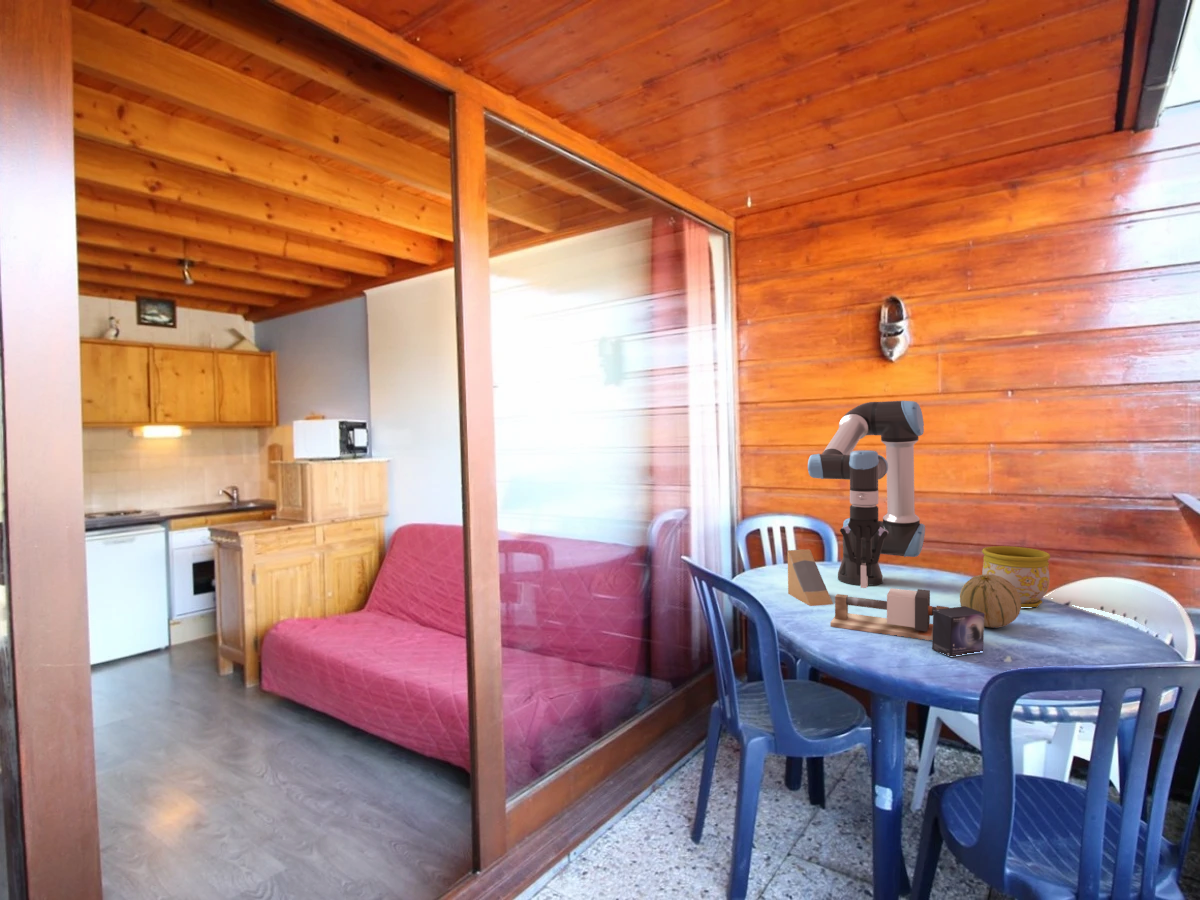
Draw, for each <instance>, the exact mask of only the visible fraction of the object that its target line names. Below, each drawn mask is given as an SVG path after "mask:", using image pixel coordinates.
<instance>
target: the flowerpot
mask: <svg viewBox="0 0 1200 900" xmlns="http://www.w3.org/2000/svg"><path fill="white" fill-rule="evenodd" d="M981 553H982V554H983V557H982V558H983V563H982V572H981V573H982V574H981V575H985V574H991V575H996V576H1000V577H1002V578H1004V579H1006V580H1008V581H1009V582H1010V583H1011V584H1012V585H1013V586H1014V587H1015V588H1016V590H1017V592H1018V594H1019V596H1020V599H1021V607H1036V608H1038V607H1039V606H1040V605H1041V604H1043V600H1042V599H1043V597H1044V596H1045V595H1046V594H1047V592H1048V590H1049V588H1050V570H1049V565H1050V563H1049V560H1050V559H1051V554H1050V553H1048V552H1046V551H1045V550H1040V549H1036V548H1029V547H1023V546H1021V547H1020V546H1010V545H1009V546H1008V545H995V546H986V547H984V548H982V550H981Z"/></svg>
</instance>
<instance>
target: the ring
mask: <svg viewBox="0 0 1200 900" xmlns="http://www.w3.org/2000/svg"><path fill="white" fill-rule="evenodd" d="M916 591H917V593H916V596H915V630H919V631H926V632H927V631H928V627H929V624H931V623H930V622H931V621H930V618H931V616H929V615H928V606H931V590H930V589H920V588H917V590H916Z"/></svg>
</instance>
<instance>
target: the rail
mask: <svg viewBox="0 0 1200 900" xmlns="http://www.w3.org/2000/svg"><path fill="white" fill-rule="evenodd" d="M849 606H854V607H860V608H861V607H862V608H870V609H878V610H885V611H887V600H882V599H881V600H880V599H872V598H863V597H856V596H849V595H847V594H840V593H837V594H836V595H835V596H834V617H833V618H832V620H831V621H830V627H833V628H839V629H846V630H854V631H861V632H867V633H873V634H874V633H875V634H880V633H882V635H887V634H890V635H889V636H894V635H897V636H896V637H901V636H904V637H903V638H908V637H911V638H910V639H915V638H918V639H917V640H922V639H925V640H924V641H929V640H933V623H929V627H928V631H927V632H926V631H919V630H915V628H914V627H907V626H899V625H892V624H887V617H879V616H873V615H864V614H857V613H849ZM945 608H950V607H949V606H943V605H942V606H941V605H936V606H933V605H930V606H928V615H929V616H930V617H931V616H932V617H933V610H936V609H945Z"/></svg>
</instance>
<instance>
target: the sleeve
mask: <svg viewBox="0 0 1200 900" xmlns="http://www.w3.org/2000/svg"><path fill="white" fill-rule="evenodd" d="M916 593H917V590H908V589H901V588H900V589H898V588H889V590H888V592H887V594H886V601H887V610H886V618H887V624H892V625H899V626H907V627H914V628H915V596H916Z"/></svg>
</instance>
